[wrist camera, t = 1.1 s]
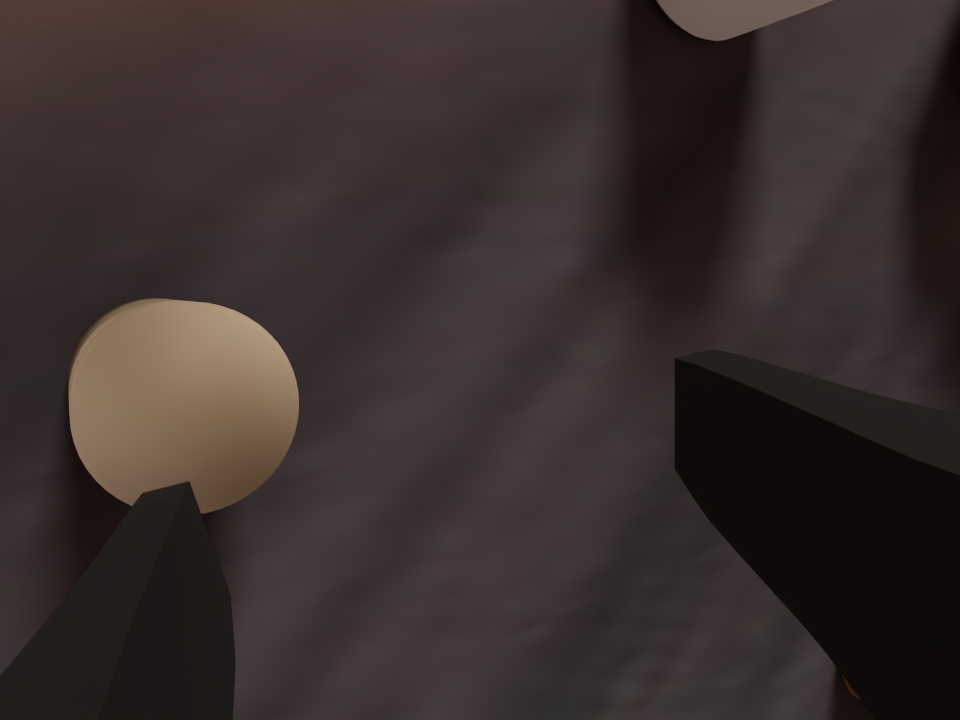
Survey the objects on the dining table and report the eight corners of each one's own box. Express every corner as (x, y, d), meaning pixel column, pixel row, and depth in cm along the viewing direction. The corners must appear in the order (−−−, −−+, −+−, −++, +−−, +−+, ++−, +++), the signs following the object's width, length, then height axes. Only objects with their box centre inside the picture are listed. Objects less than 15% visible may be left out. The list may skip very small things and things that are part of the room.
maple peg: (141, 486, 19) (170, 560, 14) (29, 364, 18) (14, 394, 13) (268, 388, 21) (338, 422, 15) (172, 267, 19) (213, 258, 14)
